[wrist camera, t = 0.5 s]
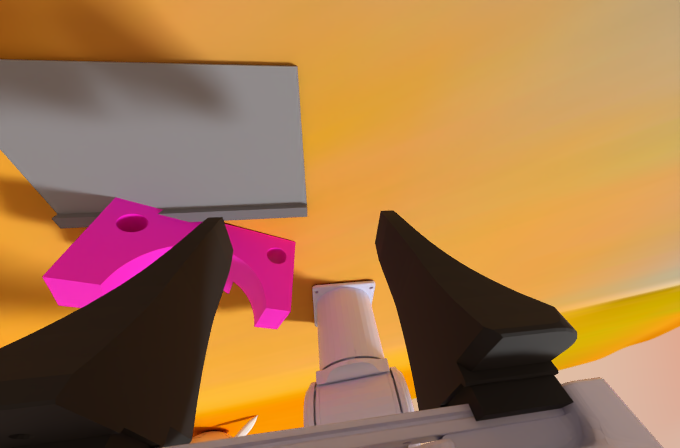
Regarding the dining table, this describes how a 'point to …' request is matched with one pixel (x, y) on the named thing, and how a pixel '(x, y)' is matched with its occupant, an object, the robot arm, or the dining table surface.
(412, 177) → the dining table surface
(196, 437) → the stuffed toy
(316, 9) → the dining table surface
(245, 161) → the rubber mat
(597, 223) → the dining table surface
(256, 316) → the toy block
